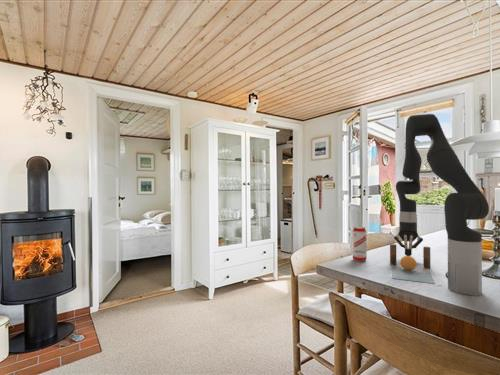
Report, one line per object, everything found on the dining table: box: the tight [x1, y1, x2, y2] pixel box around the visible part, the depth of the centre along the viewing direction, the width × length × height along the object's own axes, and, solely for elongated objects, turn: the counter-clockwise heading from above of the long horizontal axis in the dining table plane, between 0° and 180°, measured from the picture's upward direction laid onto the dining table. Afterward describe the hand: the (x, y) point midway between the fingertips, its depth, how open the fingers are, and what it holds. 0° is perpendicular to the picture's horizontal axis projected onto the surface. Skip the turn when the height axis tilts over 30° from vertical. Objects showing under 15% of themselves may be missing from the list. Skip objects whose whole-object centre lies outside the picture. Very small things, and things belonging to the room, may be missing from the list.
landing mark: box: [391, 268, 436, 285], centre depth 110 cm, size 14×14×1 cm
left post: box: [389, 243, 397, 266], centre depth 128 cm, size 3×3×9 cm
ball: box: [399, 255, 417, 271], centre depth 118 cm, size 6×6×6 cm
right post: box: [422, 246, 431, 270], centre depth 122 cm, size 3×3×9 cm
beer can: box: [352, 226, 368, 263], centre depth 134 cm, size 6×6×16 cm
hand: (408, 256), depth 136 cm, fingers closed
